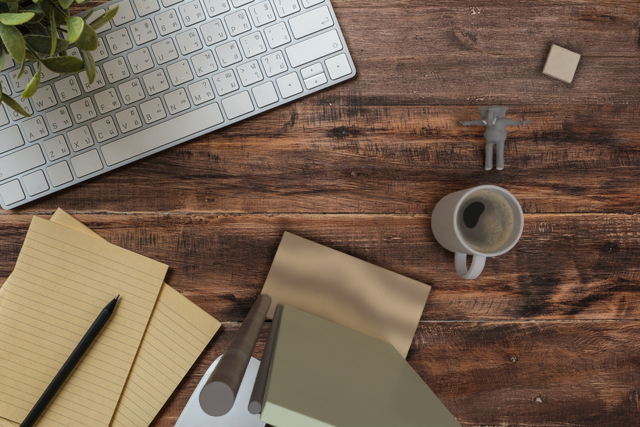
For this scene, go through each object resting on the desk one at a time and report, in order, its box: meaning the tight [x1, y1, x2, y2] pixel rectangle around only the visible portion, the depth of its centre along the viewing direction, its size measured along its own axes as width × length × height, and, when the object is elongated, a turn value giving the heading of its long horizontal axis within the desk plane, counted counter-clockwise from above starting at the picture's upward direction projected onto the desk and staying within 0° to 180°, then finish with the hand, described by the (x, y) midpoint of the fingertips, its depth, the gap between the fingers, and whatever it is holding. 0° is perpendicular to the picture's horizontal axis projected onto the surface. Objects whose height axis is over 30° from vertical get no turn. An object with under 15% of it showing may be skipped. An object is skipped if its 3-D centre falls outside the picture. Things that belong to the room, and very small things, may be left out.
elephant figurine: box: [458, 104, 534, 171], centre depth 67 cm, size 10×6×9 cm
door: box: [247, 304, 463, 427], centre depth 47 cm, size 2×17×38 cm, turn 69°
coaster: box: [541, 43, 582, 84], centre depth 70 cm, size 4×4×1 cm
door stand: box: [198, 230, 432, 418], centre depth 47 cm, size 12×22×40 cm, turn 69°
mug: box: [430, 184, 525, 281], centre depth 64 cm, size 11×10×10 cm
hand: (349, 352), depth 59 cm, fingers closed
